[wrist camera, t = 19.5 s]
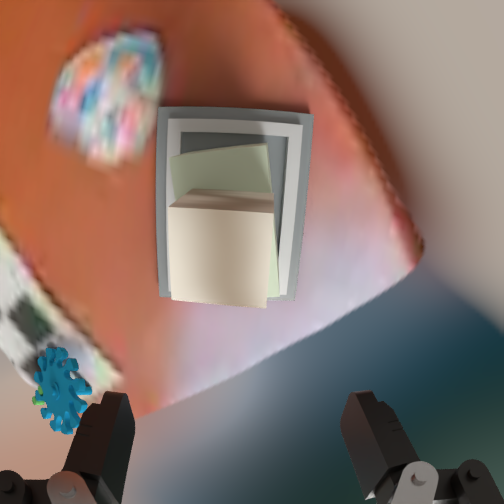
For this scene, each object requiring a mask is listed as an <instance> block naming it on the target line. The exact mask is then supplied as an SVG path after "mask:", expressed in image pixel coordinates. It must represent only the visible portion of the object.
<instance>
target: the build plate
mask: <svg viewBox="0 0 504 504" xmlns="http://www.w3.org/2000/svg"><path fill="white" fill-rule="evenodd" d="M313 120H314V115H313V114H305V113H296V112H286V111H275V110H263V109H249V108H229V107H158V120H157V145H156V235H157V261H158V279H159V295H160V297H171V281H170V262H169V236H168V207H169V206H170V205H171V204H173V203H174V202H175V196H174V189H173V183H172V176H171V169H170V162H169V157H172V156H176V155H180V154H183V153H187V152H192V151H199V150H207V149H214V148H222V147H230V146H239V145H249V144H259V143H268V152H269V162H270V172H271V183H272V193H274V215H275V227H276V238H277V250H278V263H279V291H280V297H268V298H267V300H277V301H295V295H296V287H297V279H298V272H299V263H300V255H301V247H302V238H303V229H304V220H305V211H306V201H307V191H308V180H309V169H310V158H311V146H312V133H313Z"/></svg>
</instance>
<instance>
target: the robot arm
mask: <svg viewBox="0 0 504 504" xmlns="http://www.w3.org/2000/svg"><path fill="white" fill-rule="evenodd" d="M340 428H341V433H342V436H343V438H344V441H345V444H346V447H347V449H348V452H349V455H350V458H351V461H352V463H353V466H354V469H355V472H356V475H357V478H358V480H359V483H360V486H361V489H362V492H363V495H364V497H365V499H369V498H373V497H376V500H377V504H504V500H503V498H502V496H501V494H500V492H499V490H498V488H497V486H496V484H495V482H494V480H493V478H492V476H491V474H490V472H489V470H488V469H487V467H486V466H485V465H484V464H483V463H482V462H480V461H478V460H474V459H471V460H467V461H465V462H463V463H462V464H461V465H460V466H459V468H458V469H443V470H442V469H441V470H439V469H435V468H434V467H433V466H432V465H430V464H428V463H426V462H422V461H420V459H419V458H418V456H417V454H416V452H415V450H414V448H413V446H412V444H411V442H410V440H409V438H408V437H407V435H406V433H405V431H404V430H403V427H402V425H401V423H400V422H399V421H398V418H397V416H396V414H395V412H394V410H393V409H392V408H391V407H390V406H389V405H387V404H386V403H385V402H384V401H381V402H378V401H377V399H376V398H375V396H374V394H373V392H372V391H370V390H365V391H358V392H351V393H350V394H349V397H348V400H347V403H346V405H345V408H344V411H343V414H342V417H341V421H340ZM134 435H135V420H134V416H133V413H132V410H131V406H130V403H129V399H128V396H127V394H126V393H118V392H110V391H106V392H105V393H104V395H103V398H102V401H101V404H95V403H92V404H91V405H90V406H89V407H88V408H87V409H86V410H85V411H84V412H83V415H82V417H81V420H80V423H79V426H78V428H77V431H76V435H75V436H74V439H73V442H72V444H71V447H70V450H69V453H68V456H67V459H66V462H65V465H64V467H63V469H62V470H61V472H58V473H55V474H54V475H53V476H51V478H50V479H46V480H23V478H22V477H21V476H20V475H19V474H18V473H16V472H14V471H11V470H4V471H1V472H0V504H121V502H122V495H123V490H124V485H125V479H126V474H127V469H128V463H129V459H130V454H131V450H132V445H133V440H134Z"/></svg>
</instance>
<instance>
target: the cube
mask: <svg viewBox="0 0 504 504" xmlns="http://www.w3.org/2000/svg"><path fill="white" fill-rule="evenodd" d="M273 220H274V193H265V192H251V191H234V190H216V189H194V188H193V189H191V190H190V191H189V192H187V193H186V194H184V195H183V196H182V197H180V198H179V199H178V200H177V201H175V202H174V203H173V204H171V205H170V206H169V207H168V236H169V262H170V281H171V297H172V300H179V301H188V302H198V303H208V304H219V305H230V306H241V307H254V308H266V304H267V293H268V281H269V269H270V257H271V245H272V233H273Z"/></svg>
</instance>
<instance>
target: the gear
mask: <svg viewBox="0 0 504 504" xmlns="http://www.w3.org/2000/svg"><path fill="white" fill-rule="evenodd" d="M46 356H47V357H44V356H41V357H39V359H38V365H39V366H40V368H41V371H42V372H37V371H36V372H35V375H34V380H35V382H37V383H39V384H40V386H39V387H38V390H36V391H35V392H36V393H35V394H36V395H35V396H36V397H33V398H32V401H33V404H34V405H44V402H46V404H47V408H41V414H42V417H43V419H48V418H51V415H52V413H53V414H54V420H52V421H50V426H51V428H52V429H53V430H54V431H61V432H62V433H64V434H73V429H72V428H78V426H79V423H80V420H81V418H80V417H79V416H78V414H77V412H78V413H83V412H84V411H85V410H86V409H87V403H86V401H84V400H81V399H80V398H79V397H78V396H77V395H91V394H92V389H91V387H89V386H87V387H85V380H84V379H82V378H76V379H72V378H71V377H70V371H77V370H78V369H79V366H78V363H77V360H76V359H72V358H68V359H67V357H68V352H67V351H66V349H64V348H61V347H58V348H57V349H52V348H46ZM65 359H67V361H66V364H65V365H64V367H63V365H62V362H63V360H65ZM54 360H55V362H54ZM76 411H77V412H76ZM62 420H63V423H62V425H61V421H62Z"/></svg>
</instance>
